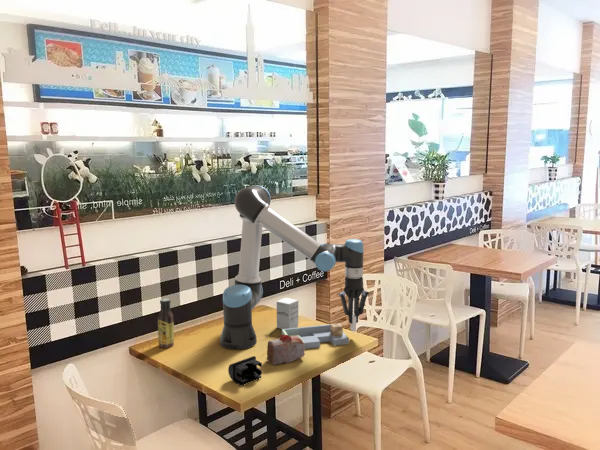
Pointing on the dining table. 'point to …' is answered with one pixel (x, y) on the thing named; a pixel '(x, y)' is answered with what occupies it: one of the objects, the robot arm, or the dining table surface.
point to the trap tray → (316, 335)
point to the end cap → (245, 370)
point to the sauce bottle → (165, 325)
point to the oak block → (336, 329)
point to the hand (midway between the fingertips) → (353, 330)
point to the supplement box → (287, 313)
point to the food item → (285, 349)
